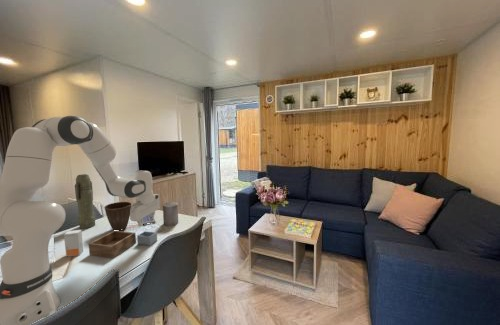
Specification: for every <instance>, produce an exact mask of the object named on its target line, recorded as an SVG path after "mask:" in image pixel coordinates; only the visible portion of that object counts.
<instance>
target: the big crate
mask: <svg viewBox="0 0 500 325" xmlns="http://www.w3.org/2000/svg"><path fill="white" fill-rule="evenodd" d="M136 236H137V235H136V232H131V231H124V230H122V231H113V230H112V231H111V232H109V233H107V234H105V235H103V236H101V237H99V238H97V239H95V240H93V241H91V242H89V243H88V250H89V256H95V257H102V258H108V259H109V258H110V259H114V258H115V257H117V256H119V255H120V254H121V253H123V252H124V251H126V250H128V249H129V248H132V246H134V245H135V244H136V243H137V240H136V238H137V237H136Z"/></svg>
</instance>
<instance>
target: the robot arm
mask: <svg viewBox="0 0 500 325" xmlns="http://www.w3.org/2000/svg"><path fill="white" fill-rule="evenodd" d="M72 145H77V146H78V147H80V149H81V150H82V151H83V153H84V155H86V157H87V158H88V159H89V160H90V162H91V163H92V165H93V167H94V169H95V171H96V172H97V173H98V175H99V176H100V178H101V179H102V180H103V182H104V184H105V188H106V191H107V193H108V194H109V195H110V196H113V197H121V198H128V199H133V198H134V199H135V201H136V202H134V203H132V204H131V210H130V217H129V221H130V220H131V221H132V222H136V223H137V225H138V227H139V228H141V227H143V226H144V225H143V222H142V220H141V219H142V218H143V217H145V216H147V215H149V214H151V216H150V220H153V219H155V215H156V211H158V210H160V206H161V205H160V204H161V202H160V201H161V200H160V194H158V193H154V191H153V176H152V172H150V171H149V170H142V169H141V170H140V169H138V170H135V171H134V173H133V174H132V175H130V176H129V177H128V178H127V177H126V178H125V177H122V176H119V175H118V174H117V173H116V171H115V170H114V168H113V166H112V165H111V162H113V160H115V157H116V155H117V150H116V147H115V145H114V144H113V143H112V141H111V140H110V138H109V136H108V135H107V134H106V133H105V132H104V131H103V130H102V129H101V128H100V127H99V126H98V125H97V124H95V123H93V122H89V121H86V120H85V119H84V118H82V117H80V116H76V115H66V116H53V117H49V118H45V119H44V118H43V119H41V120H38V121H37V122H34V123H33V125H32V126H26V127H25V126H24V127H21V128H18V129H16V130H15V131H14V133H13V135H12V137H11V139H10V140H9V144H8V146H7V149H6V153H5V159H4V164H3V169H2V173H1V177H0V237H6V236H7V237H8V236H9V237H12V240H13V241H12V247H11V248H9V249H7V250H6V251H5V252H4V253H3V254H2V255H1V257H0V271H1V277H2V280H1V282H0V325H30V324H32V323H34V322H36V321H38V320H40V319H42V318H45V317H47V316H49V315H50V314H52V313H54V312H56V313H57V310H58V307H59V306H60V303H61V299H60V297H59V296H58V295H57V294H58V293H57V292H56V290H55V287H54V283H53V269H52V265H50V257H49V245H50V241H51V239H52V236H53V235H54V234H55V233H56V232H57V231H58V230H59V229H60V228H62V226H63V224H64V223H65V221H66V210H65V208H64V207H63V206H62V205H61V204H59V203H55V202H51V201H45V200H32V199H33V197H34V195H35V193H36V192H37V191H39V189H41V188H44V187H45V186H47V184H48V183H49V180H50V174H51V167H52V159H53V152H54V149H55V148H56V147H67V146H72Z"/></svg>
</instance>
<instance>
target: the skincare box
mask: <svg viewBox="0 0 500 325" xmlns="http://www.w3.org/2000/svg"><path fill="white" fill-rule="evenodd" d="M82 230H83V229H75V230H68V231H66V232H65V233H64V234H63V237H64V248H65V256H68V257H75V256H81V255H82V254H83V253H84V243H83V233H82Z"/></svg>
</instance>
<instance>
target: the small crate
mask: <svg viewBox="0 0 500 325" xmlns="http://www.w3.org/2000/svg"><path fill="white" fill-rule="evenodd" d="M136 236H137V237H136V238H137V245H141V246H149V247H150V246H152V245H154V244H155V243H156V242H157V241H158V233H157V231H156V232H155V231H148V230H147V231H146V230H144V231H143V232H141V233H139V234H138V235H136Z"/></svg>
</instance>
